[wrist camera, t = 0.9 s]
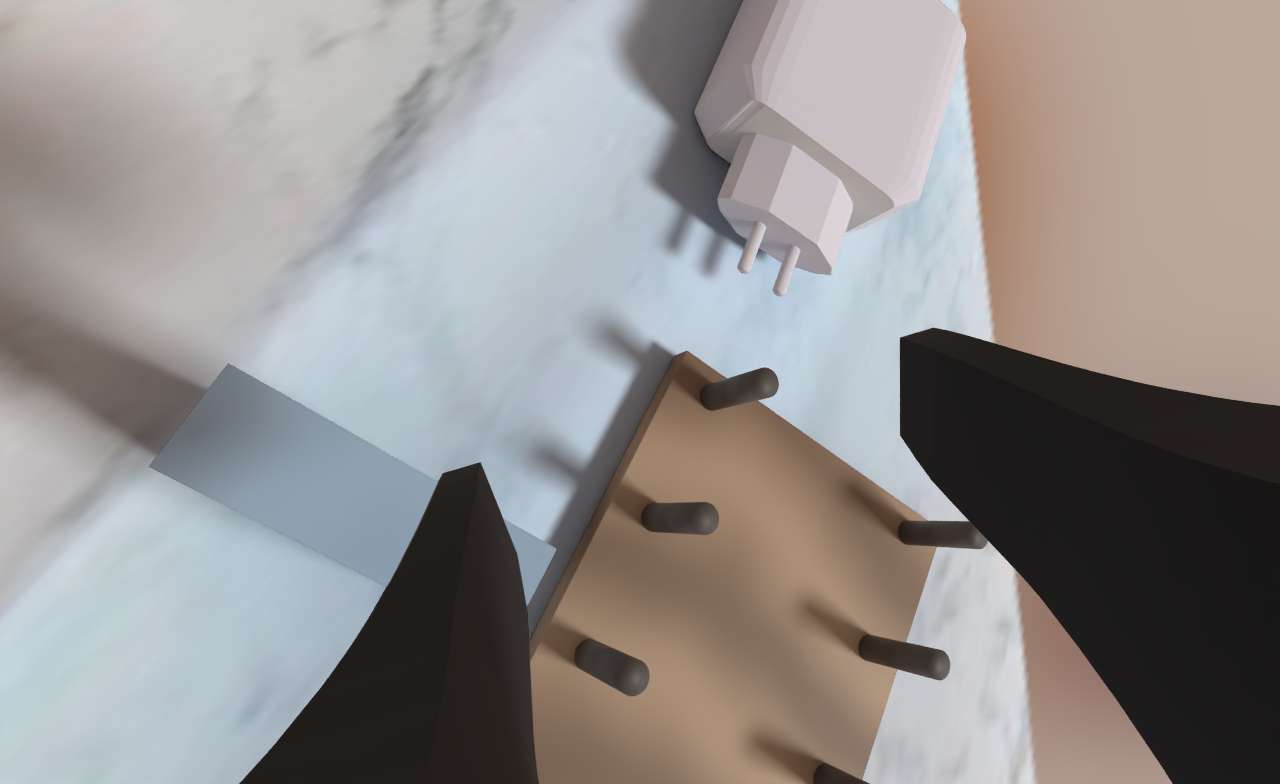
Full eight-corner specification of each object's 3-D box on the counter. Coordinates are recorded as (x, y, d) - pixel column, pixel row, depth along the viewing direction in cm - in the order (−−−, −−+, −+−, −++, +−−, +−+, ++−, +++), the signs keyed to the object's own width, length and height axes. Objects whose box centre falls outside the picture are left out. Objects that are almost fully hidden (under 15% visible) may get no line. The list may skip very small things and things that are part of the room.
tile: (444, 606, 23) (506, 647, 16) (198, 481, 20) (149, 466, 14) (483, 538, 23) (557, 549, 17) (250, 409, 21) (227, 362, 14)
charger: (631, 241, 28) (750, -29, 32) (811, 353, 31) (897, 90, 35) (690, 193, 23) (818, -110, 28) (893, 328, 26) (978, 33, 31)
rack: (782, 957, 26) (872, 1040, 22) (439, 816, 22) (471, 885, 18) (923, 530, 32) (1014, 532, 28) (674, 355, 27) (738, 329, 23)
